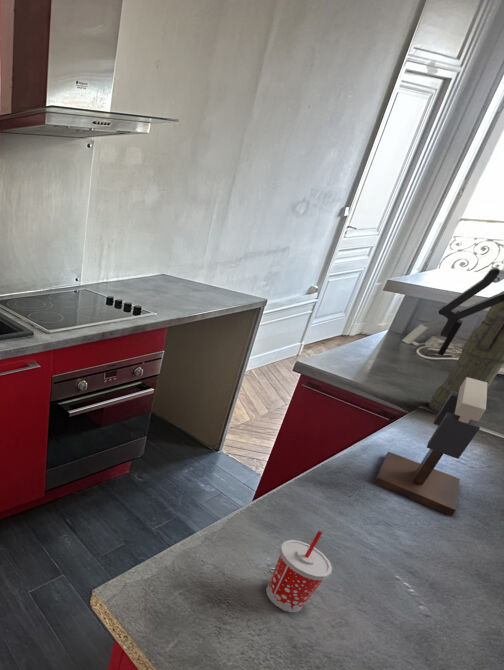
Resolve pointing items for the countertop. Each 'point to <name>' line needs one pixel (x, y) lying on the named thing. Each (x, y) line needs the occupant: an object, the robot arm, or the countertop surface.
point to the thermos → (476, 356)
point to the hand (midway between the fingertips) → (491, 366)
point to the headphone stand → (420, 481)
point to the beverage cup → (297, 574)
